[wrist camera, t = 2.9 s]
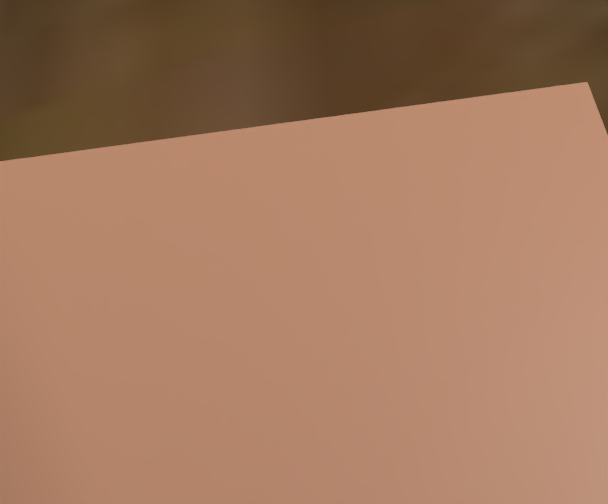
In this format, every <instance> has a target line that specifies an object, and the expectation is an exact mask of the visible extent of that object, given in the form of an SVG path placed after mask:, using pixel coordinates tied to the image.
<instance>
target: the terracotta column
mask: <svg viewBox="0 0 608 504" xmlns="http://www.w3.org/2000/svg"><path fill="white" fill-rule="evenodd" d="M0 504H608V135H607V133H606V130H605V127H604V125H603V122H602V119H601V117H600V114H599V111H598V109H597V106H596V103H595V101H594V98H593V95H592V93H591V90H590V88H589V85H588V82H584V83H577V84H569V85H562V86H554V87H547V88H540V89H532V90H525V91H517V92H510V93H503V94H495V95H488V96H480V97H473V98H466V99H458V100H451V101H444V102H436V103H429V104H421V105H414V106H407V107H399V108H392V109H384V110H377V111H370V112H362V113H355V114H348V115H340V116H333V117H325V118H318V119H311V120H303V121H296V122H288V123H281V124H274V125H266V126H259V127H251V128H244V129H237V130H229V131H222V132H215V133H207V134H200V135H192V136H185V137H178V138H170V139H163V140H155V141H148V142H141V143H133V144H126V145H119V146H111V147H104V148H96V149H89V150H82V151H74V152H67V153H59V154H52V155H45V156H37V157H30V158H23V159H15V160H8V161H0Z"/></svg>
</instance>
